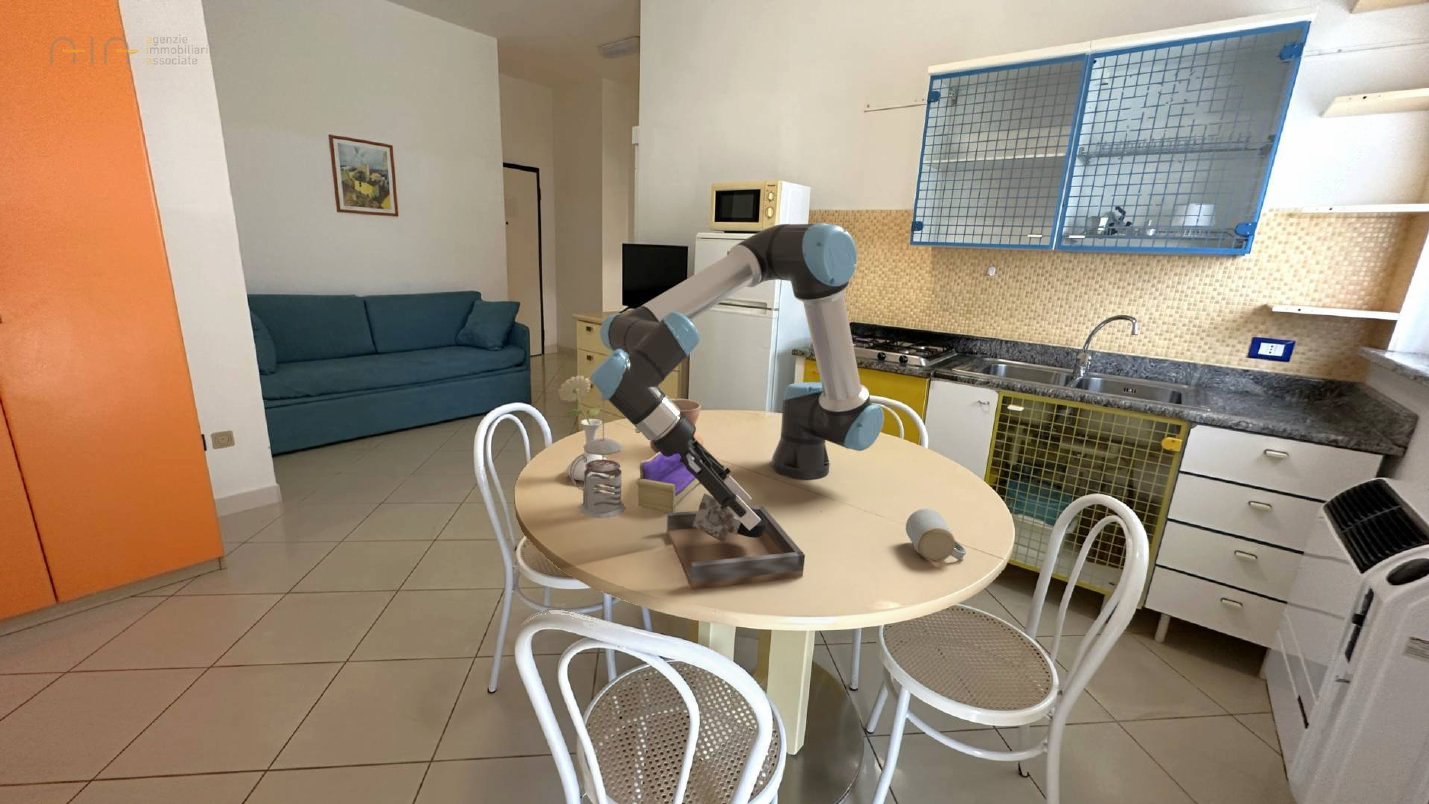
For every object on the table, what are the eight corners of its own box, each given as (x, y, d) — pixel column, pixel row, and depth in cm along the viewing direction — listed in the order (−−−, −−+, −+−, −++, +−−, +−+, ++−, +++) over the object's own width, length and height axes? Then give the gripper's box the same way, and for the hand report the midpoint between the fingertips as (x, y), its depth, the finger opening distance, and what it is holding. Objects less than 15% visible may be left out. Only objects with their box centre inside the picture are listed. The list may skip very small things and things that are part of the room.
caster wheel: (765, 540, 108) (746, 556, 99) (713, 514, 112) (691, 526, 103) (777, 508, 106) (759, 521, 97) (724, 483, 111) (702, 493, 101)
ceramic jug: (646, 443, 164) (647, 396, 160) (696, 442, 167) (698, 395, 163) (654, 467, 147) (655, 415, 143) (709, 465, 150) (712, 414, 146)
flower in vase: (610, 466, 145) (612, 370, 139) (618, 484, 134) (620, 380, 128) (557, 470, 141) (556, 370, 134) (560, 488, 130) (559, 381, 124)
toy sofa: (672, 516, 120) (674, 470, 118) (635, 508, 123) (636, 463, 121) (707, 482, 139) (710, 442, 137) (675, 475, 142) (676, 436, 140)
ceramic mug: (915, 562, 107) (922, 525, 105) (902, 541, 115) (908, 506, 113) (971, 567, 107) (979, 529, 105) (954, 545, 115) (961, 510, 113)
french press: (632, 513, 120) (635, 398, 114) (578, 523, 114) (578, 402, 108) (616, 495, 128) (618, 387, 122) (564, 504, 122) (564, 390, 116)
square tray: (761, 524, 118) (763, 506, 117) (802, 576, 100) (804, 555, 99) (666, 532, 113) (667, 513, 112) (691, 589, 94) (692, 566, 93)
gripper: (649, 423, 109) (727, 502, 115) (650, 462, 89) (744, 555, 95) (678, 397, 108) (755, 478, 114) (686, 430, 88) (778, 526, 94)
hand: (750, 513), depth 104 cm, fingers closed on caster wheel, 8 cm apart
